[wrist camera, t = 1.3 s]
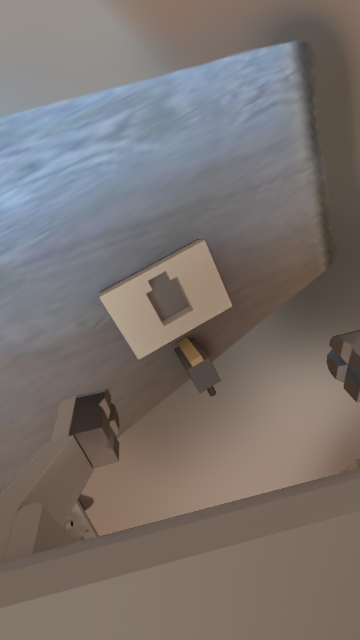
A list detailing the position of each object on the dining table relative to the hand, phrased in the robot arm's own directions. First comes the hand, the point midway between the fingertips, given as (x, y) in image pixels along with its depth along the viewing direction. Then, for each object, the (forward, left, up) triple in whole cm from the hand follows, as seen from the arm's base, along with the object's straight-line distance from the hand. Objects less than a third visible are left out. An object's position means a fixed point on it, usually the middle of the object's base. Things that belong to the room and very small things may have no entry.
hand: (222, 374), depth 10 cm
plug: (-20, -2, -37) cm, 42 cm away
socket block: (-8, -3, -37) cm, 38 cm away
